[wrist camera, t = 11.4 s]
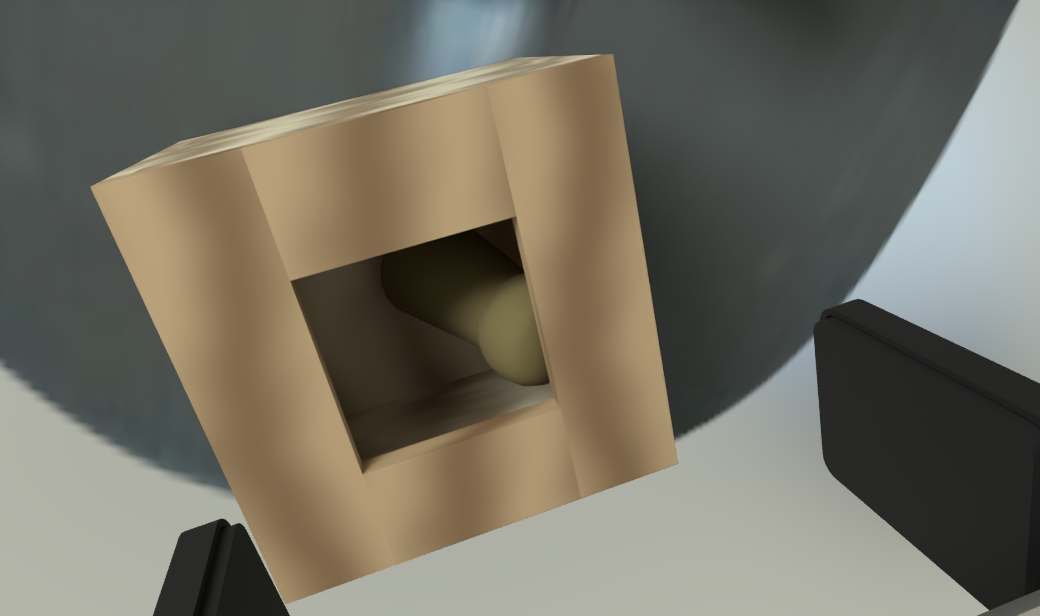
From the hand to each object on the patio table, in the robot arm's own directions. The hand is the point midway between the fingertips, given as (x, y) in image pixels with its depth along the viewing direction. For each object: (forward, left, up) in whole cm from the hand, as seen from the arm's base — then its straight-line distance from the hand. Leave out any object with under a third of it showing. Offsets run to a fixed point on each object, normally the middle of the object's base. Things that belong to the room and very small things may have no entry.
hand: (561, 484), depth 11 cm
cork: (0, +4, -28) cm, 28 cm away
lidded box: (+1, +4, -30) cm, 30 cm away
